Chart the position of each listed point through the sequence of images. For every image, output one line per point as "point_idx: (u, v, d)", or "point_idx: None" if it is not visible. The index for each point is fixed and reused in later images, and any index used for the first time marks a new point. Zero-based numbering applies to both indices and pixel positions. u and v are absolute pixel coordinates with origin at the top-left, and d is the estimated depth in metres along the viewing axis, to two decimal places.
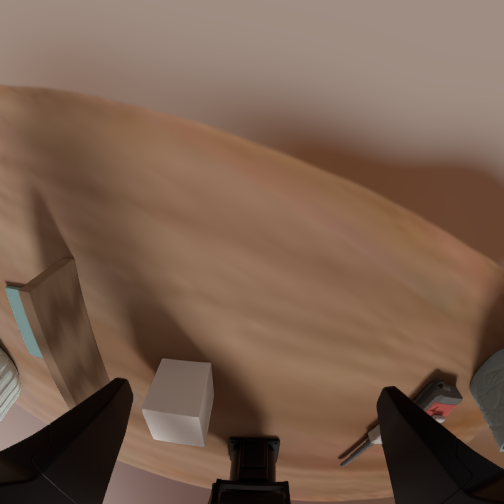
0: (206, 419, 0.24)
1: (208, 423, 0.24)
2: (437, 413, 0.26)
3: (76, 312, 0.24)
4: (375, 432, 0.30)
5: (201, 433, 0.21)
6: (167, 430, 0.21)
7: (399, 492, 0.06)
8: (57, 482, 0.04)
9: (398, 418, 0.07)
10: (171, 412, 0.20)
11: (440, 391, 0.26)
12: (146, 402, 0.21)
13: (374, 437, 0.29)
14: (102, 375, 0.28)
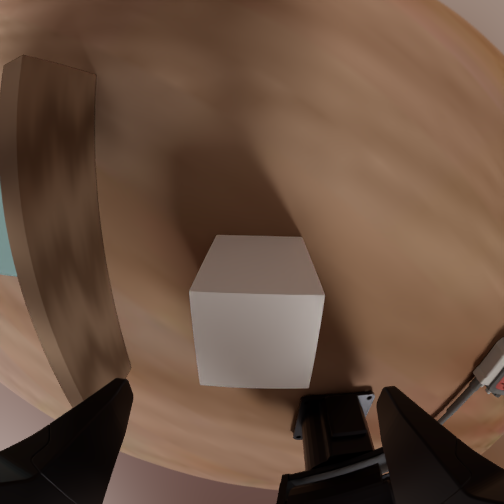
0: None
1: None
2: None
3: (80, 149, 0.14)
4: (484, 368, 0.20)
5: (314, 349, 0.11)
6: (238, 352, 0.12)
7: (399, 492, 0.06)
8: (57, 482, 0.04)
9: (398, 418, 0.07)
10: (261, 292, 0.11)
11: None
12: (199, 282, 0.11)
13: (484, 374, 0.19)
14: (103, 285, 0.18)
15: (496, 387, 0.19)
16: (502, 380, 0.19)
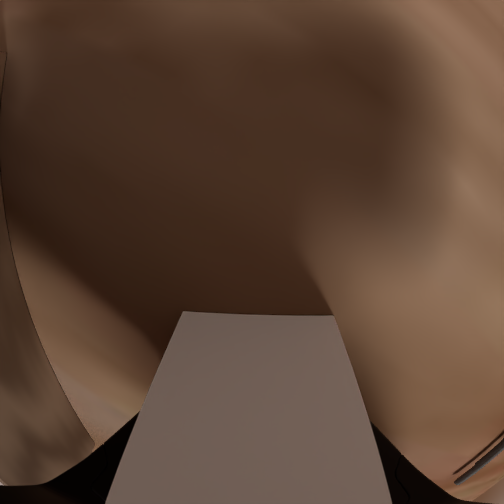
0: None
1: None
2: None
3: None
4: None
5: None
6: None
7: None
8: None
9: None
10: None
11: None
12: (125, 480, 0.04)
13: None
14: (35, 363, 0.10)
15: None
16: None
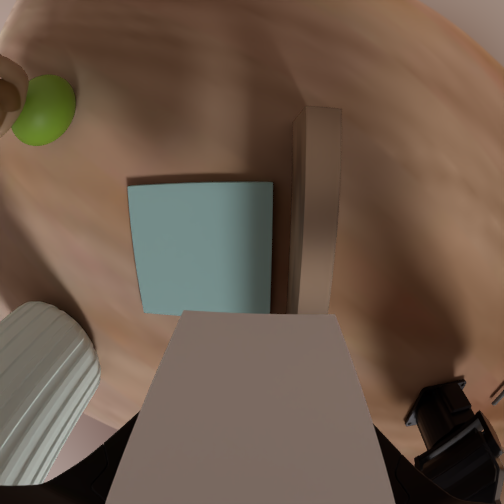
0: None
1: None
2: None
3: None
4: None
5: None
6: None
7: None
8: None
9: None
10: None
11: None
12: (125, 481, 0.04)
13: None
14: None
15: None
16: None
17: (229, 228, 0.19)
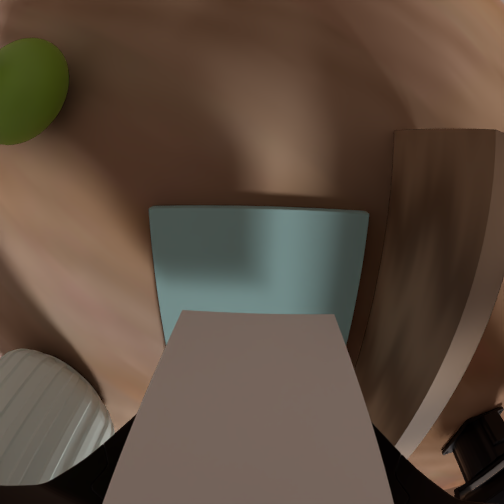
0: None
1: None
2: None
3: None
4: None
5: None
6: None
7: None
8: None
9: None
10: None
11: None
12: (122, 480, 0.04)
13: None
14: None
15: None
16: None
17: (304, 274, 0.14)
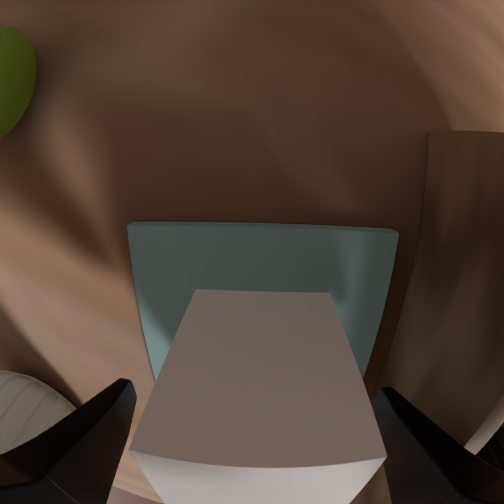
0: None
1: None
2: None
3: None
4: None
5: (349, 499, 0.05)
6: None
7: (396, 493, 0.06)
8: (61, 483, 0.04)
9: (394, 419, 0.07)
10: (267, 463, 0.04)
11: None
12: (149, 423, 0.05)
13: None
14: None
15: None
16: None
17: None
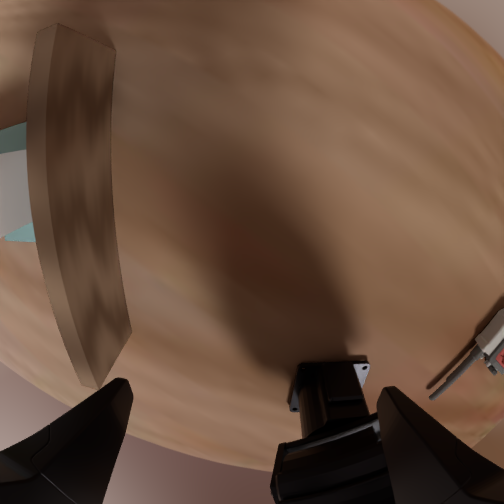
0: (11, 204, 0.13)
1: (18, 223, 0.14)
2: None
3: (99, 114, 0.15)
4: (486, 335, 0.21)
5: None
6: None
7: (399, 492, 0.06)
8: (57, 482, 0.04)
9: (398, 418, 0.07)
10: None
11: None
12: None
13: (486, 341, 0.21)
14: (111, 245, 0.19)
15: (496, 359, 0.20)
16: (502, 352, 0.20)
17: None
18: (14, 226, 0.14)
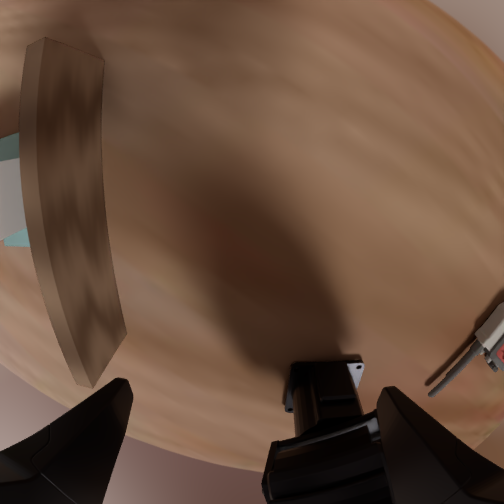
0: (7, 210, 0.14)
1: (15, 227, 0.15)
2: None
3: (89, 122, 0.15)
4: (486, 329, 0.21)
5: None
6: None
7: (399, 492, 0.06)
8: (57, 482, 0.04)
9: (398, 418, 0.07)
10: None
11: None
12: None
13: (486, 335, 0.20)
14: (103, 248, 0.19)
15: (497, 354, 0.20)
16: (503, 347, 0.20)
17: None
18: (11, 231, 0.14)
